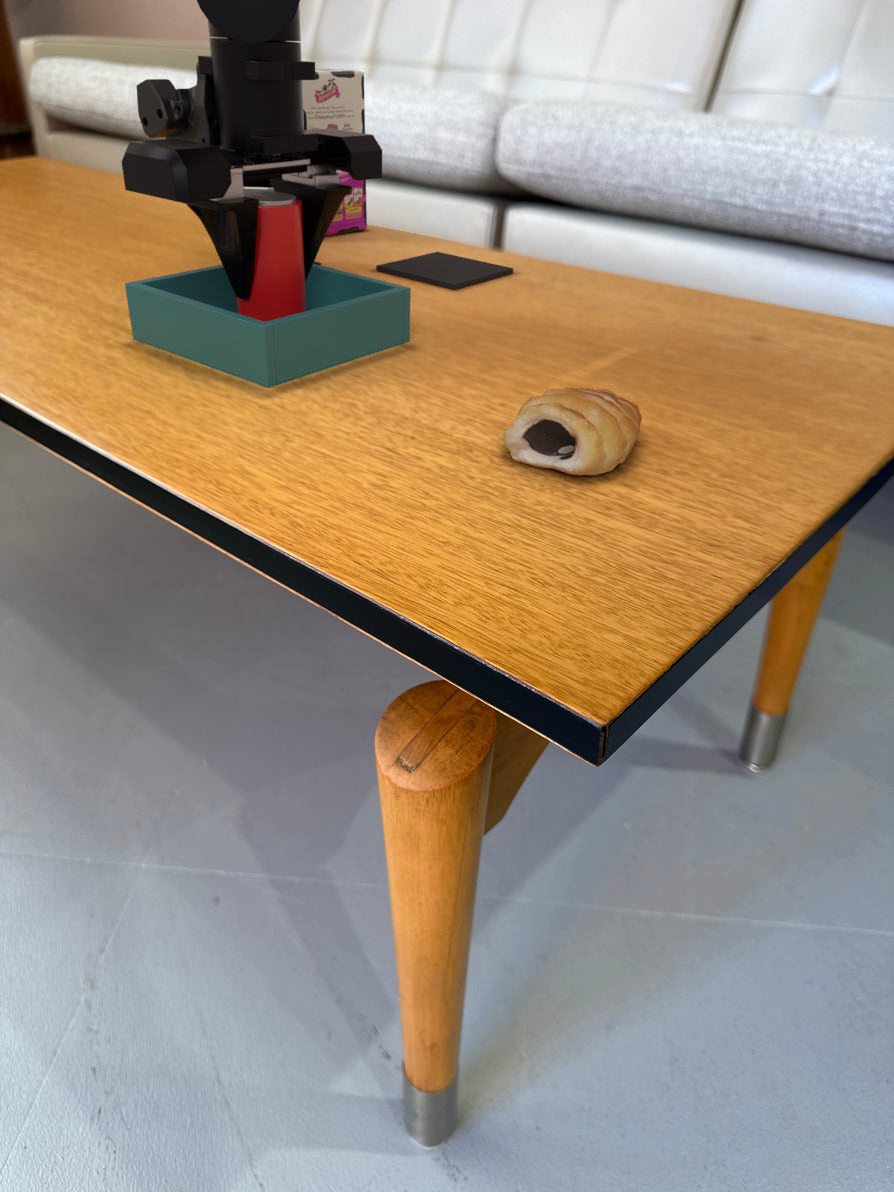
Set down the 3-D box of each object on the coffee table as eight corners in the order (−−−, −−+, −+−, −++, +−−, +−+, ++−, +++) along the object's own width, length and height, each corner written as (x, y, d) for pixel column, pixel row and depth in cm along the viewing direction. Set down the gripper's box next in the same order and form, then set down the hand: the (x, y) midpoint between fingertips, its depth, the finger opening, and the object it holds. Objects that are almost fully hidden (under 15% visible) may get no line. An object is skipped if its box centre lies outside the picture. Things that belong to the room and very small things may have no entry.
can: (275, 326, 69) (267, 187, 63) (321, 340, 66) (316, 197, 61) (226, 339, 65) (212, 194, 60) (272, 354, 63) (262, 205, 57)
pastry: (569, 412, 57) (577, 356, 55) (664, 440, 54) (676, 381, 52) (493, 457, 51) (499, 395, 49) (597, 492, 48) (608, 426, 46)
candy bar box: (340, 223, 107) (337, 68, 98) (368, 230, 104) (367, 71, 95) (267, 234, 100) (256, 67, 91) (294, 241, 97) (286, 70, 88)
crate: (278, 308, 75) (275, 253, 72) (409, 347, 67) (411, 287, 65) (133, 345, 65) (124, 282, 62) (268, 394, 57) (264, 326, 55)
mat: (437, 256, 94) (437, 251, 94) (513, 273, 90) (513, 268, 89) (376, 270, 88) (376, 265, 87) (454, 289, 83) (454, 284, 82)
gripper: (276, 37, 66) (287, 254, 74) (49, 29, 53) (94, 292, 61) (388, 45, 60) (386, 279, 69) (164, 39, 47) (196, 326, 56)
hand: (271, 291), depth 64 cm, fingers closed on can, 5 cm apart
